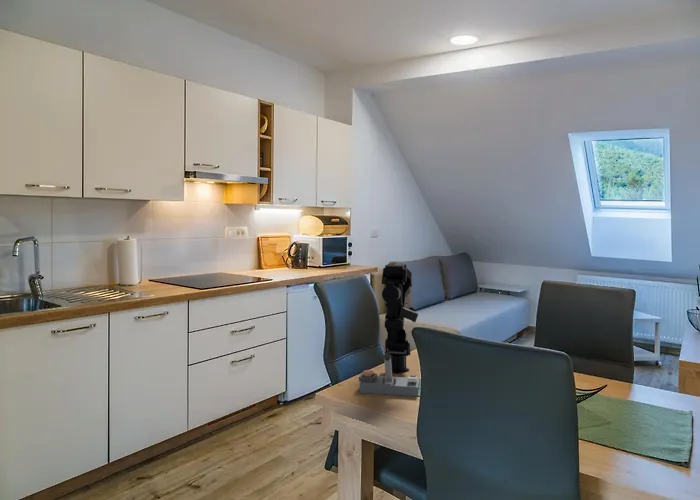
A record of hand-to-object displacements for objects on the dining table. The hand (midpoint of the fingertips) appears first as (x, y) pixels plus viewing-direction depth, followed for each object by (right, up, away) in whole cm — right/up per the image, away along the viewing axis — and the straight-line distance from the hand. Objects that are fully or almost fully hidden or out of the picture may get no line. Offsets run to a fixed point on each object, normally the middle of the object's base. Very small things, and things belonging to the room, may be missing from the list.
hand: (393, 344), depth 179 cm
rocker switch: (+6, -11, -10) cm, 16 cm away
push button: (-9, -9, -7) cm, 15 cm away
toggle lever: (-2, -11, -10) cm, 15 cm away
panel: (-2, -14, -8) cm, 16 cm away
